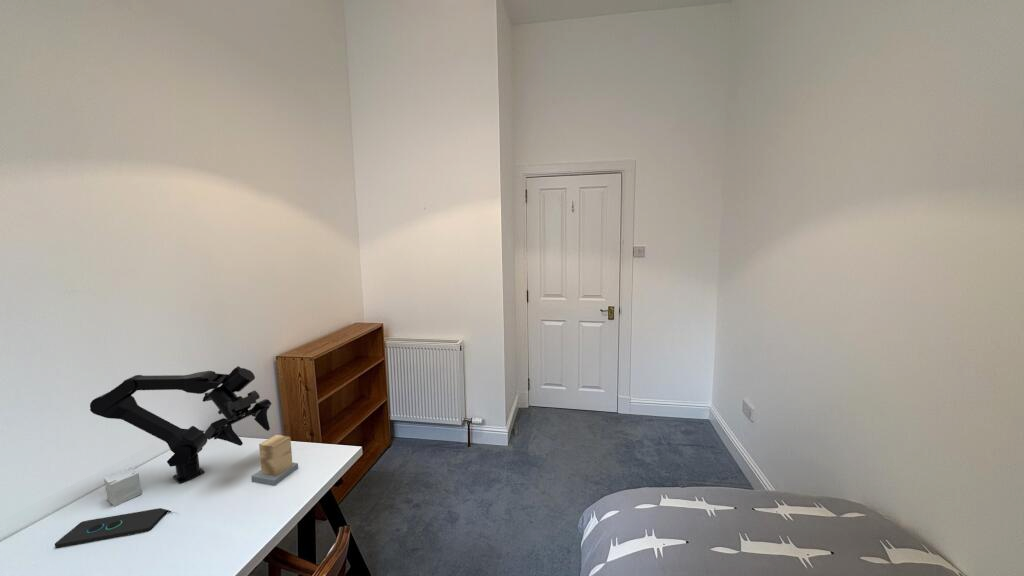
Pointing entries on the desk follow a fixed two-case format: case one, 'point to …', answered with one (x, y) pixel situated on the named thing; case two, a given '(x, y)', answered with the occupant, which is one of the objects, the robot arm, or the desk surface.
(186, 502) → the desk surface
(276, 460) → the honey oak block
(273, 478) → the slate top slab
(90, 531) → the smart home device
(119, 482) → the skincare box
